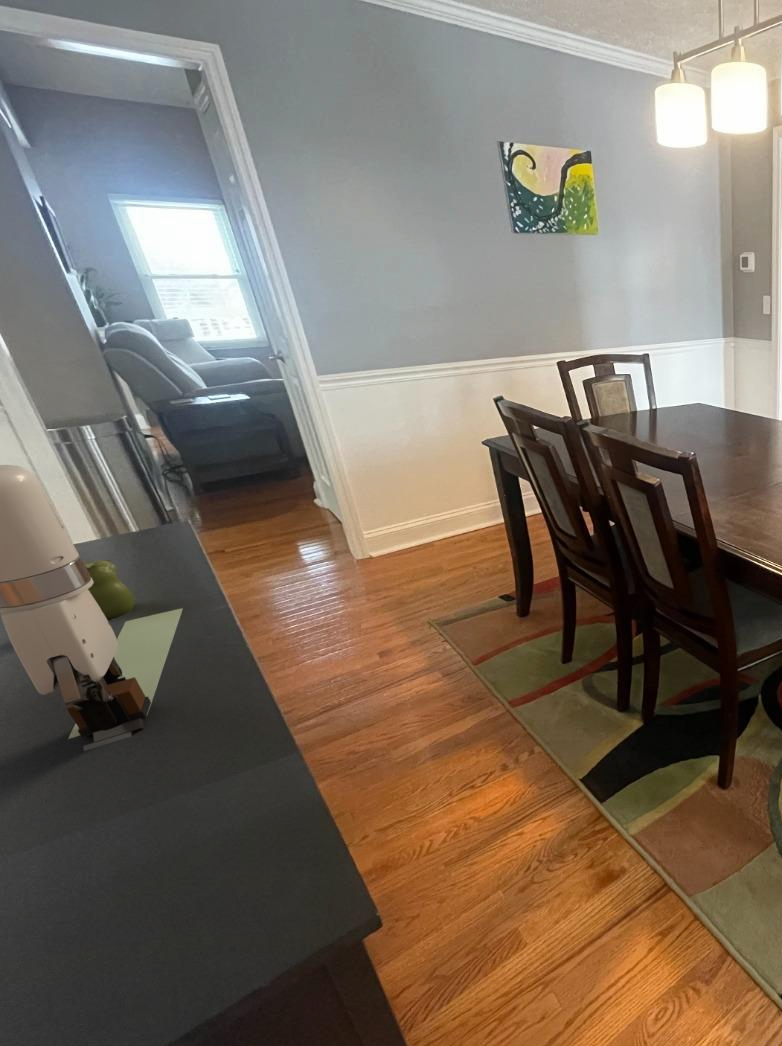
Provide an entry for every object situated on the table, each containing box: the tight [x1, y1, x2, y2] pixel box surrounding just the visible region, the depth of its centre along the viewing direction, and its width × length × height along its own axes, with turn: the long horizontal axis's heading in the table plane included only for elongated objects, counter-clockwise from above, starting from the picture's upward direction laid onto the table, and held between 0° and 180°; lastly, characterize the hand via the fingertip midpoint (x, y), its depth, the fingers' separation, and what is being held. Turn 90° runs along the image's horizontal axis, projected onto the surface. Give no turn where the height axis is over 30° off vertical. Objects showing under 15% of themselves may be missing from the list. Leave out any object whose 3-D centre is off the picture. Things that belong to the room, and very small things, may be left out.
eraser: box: [66, 677, 152, 738], centre depth 70 cm, size 6×4×4 cm, turn 126°
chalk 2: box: [92, 719, 145, 743], centre depth 69 cm, size 4×1×1 cm
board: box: [68, 607, 184, 740], centre depth 82 cm, size 7×32×1 cm, turn 35°
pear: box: [83, 559, 135, 620], centre depth 93 cm, size 6×5×10 cm
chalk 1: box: [82, 731, 134, 752], centre depth 68 cm, size 4×1×1 cm
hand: (116, 717), depth 71 cm, fingers closed on eraser, 3 cm apart
